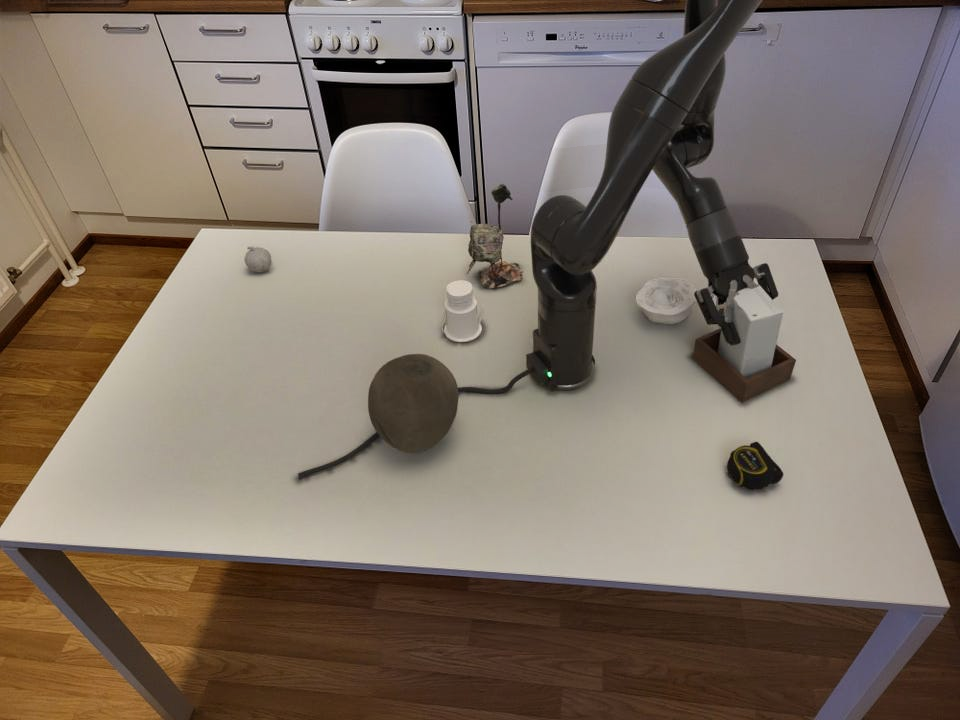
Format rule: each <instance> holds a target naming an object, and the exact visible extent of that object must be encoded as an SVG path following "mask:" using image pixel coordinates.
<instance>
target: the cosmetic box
mask: <svg viewBox="0 0 960 720" xmlns="http://www.w3.org/2000/svg"><path fill="white" fill-rule="evenodd" d="M757 285H758V284H757ZM758 286H759V287H756V288H753V289H751V288H748V287H747V288H745V289H743V290H740V291H738V292H736V294H735V297H734V304H735V305H734V308H733V309H732V317H731V322H733V323H734V325H735V328H736V330H737V333H738V335H739V338H740V340H741V343H739V344H737V345H732V346H731V345H730V344H729V343H727V342H726V341H725V338H724V335H723V333H722V331H721V335H720V341H719V347H718V350H717V352H716V353H717V354H719V355H720V356H721V357H722V358H723V359H724V360H726V361H727V362H728V363H729V364H730V365H731V366H733V367H734V368H735V369H736V370H737V371H738V372H740V373H741V374H742V375H743V376H744V377H745V378H747V379H748V378H751V377H753V376H755V375H757V374H759V373H761V372H763V371H765V370H767V369H769V368H771V365H772V361H773V356H774V352H775V347H776V344H777V342H778V337H779V333H780V329H781V325H782V324H781V323H782V319H783V315H784V311H783V310H782V309H781V308H780V307H779V305H778V304H777V303H776V302H775V301H774V299H773V300H772V299H771V298H770V297H769V295H768V294H767V293H766V292H765V291H764V290H763V289H762V287H761V286H760V285H758Z"/></svg>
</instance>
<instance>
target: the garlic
mask: <svg viewBox="0 0 960 720" xmlns="http://www.w3.org/2000/svg"><path fill="white" fill-rule="evenodd" d="M246 249H247V250H248V251H246V253H245V256H244V264H245V266H246V267H247V268H248V269H249V270H250V271H252V272H253V273H262V272H266V271H268V270H269V269H270V267H271V265H272V255H271V253H270V252H269V250H268V249H265V248H264V247H260V246H259V247H258V246H256V247H255V246H247V247H246Z"/></svg>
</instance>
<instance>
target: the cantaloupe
mask: <svg viewBox="0 0 960 720" xmlns="http://www.w3.org/2000/svg"><path fill="white" fill-rule="evenodd" d="M458 388H459V387H458V383H457V380H456V378H455V376H454V374H453V373H452V371H451V370H450V368H448V367H447V366H446V365H445V364H444V363H443V362H442V361H440V360H439V359H437V358H435V357H433V356H431V355H428V354H424V353H411V354H410V353H409V354H405V355H401V356H399V357H395V358H393V359H391V360H389V361H387V362H386V363H385V364H383V365H382V366H381V367H380V368H379V369H378V370H377V371H376V372H375V375H374V376H373V378H372V380H371V381H370V385H369V388H368V395H367V398H368V399H367V410H368V416H369V420H370V422H371V425H372V427H373V429H374V430H375V433H376V432H377V433H378V434H379V437H380V438H381V439H382V440H383V441H384V442H385V443H386V444H388V445H389V446H390V447H391V448H393V449H395V450H398V451H400V452H404V453H407V454H415V453H421V452H424V451H427V450H429V449H431V448H433V447H435V446H436V445H437V444H438V443H440V442H441V441H442V440H443V439H444V438H445V437H446V435H447V434H448V432H449V431H450V429H451V428H452V426H453V423H454V421H455V418H456V416H457V412H458V406H459V393H458Z"/></svg>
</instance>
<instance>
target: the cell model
mask: <svg viewBox="0 0 960 720" xmlns="http://www.w3.org/2000/svg"><path fill="white" fill-rule="evenodd" d="M695 291H698V288H697V287H696V286H695V285H694V284H693V283H692V282H691V281H689V280H687V279H685V278H684V279H683V278H679V277H678V278H677V277H668V276H661V277H656V278H652V279H649V280H647V281H646V282H645V283H644V285H643V286H642V288H641V289H640V290H638V291H637V293H636V295H635V302H636V303H637V306H638V309H640V310H641V312H643V314H644V315H645V316H646V317H647V319H648V320H649V321H650V322H652V323H658V324H665V325H675V324H678V323H680V322H682V321H684V320H685V319H687V318H688V317H689V316H690V315H691V313H692V311H693V309H694V307H695V304H696V301H697V300H696V298H695V296H694V293H695Z"/></svg>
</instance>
